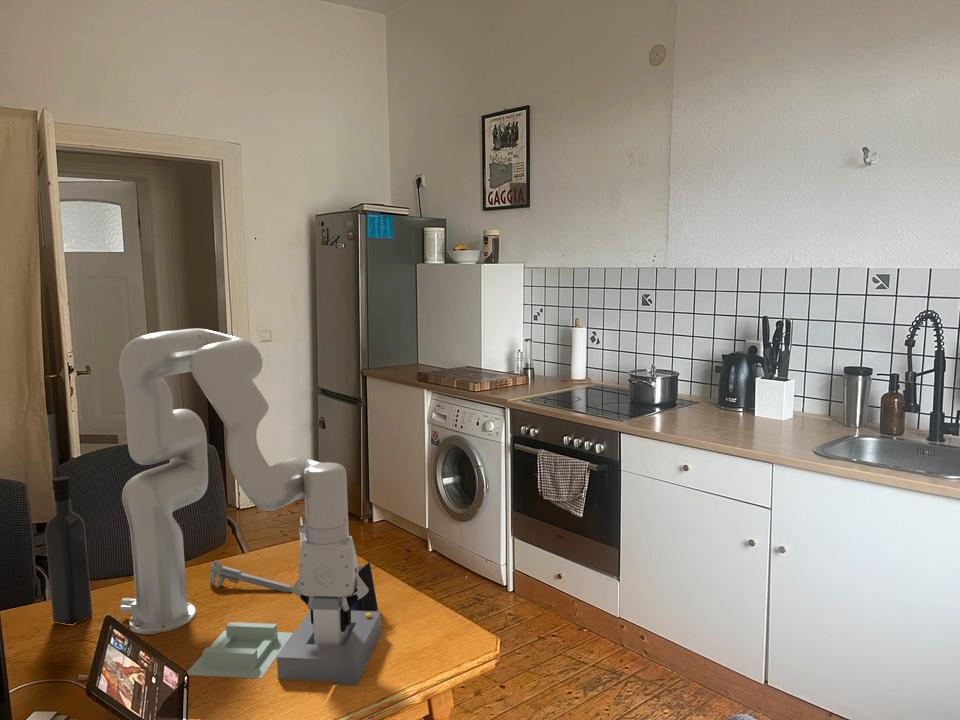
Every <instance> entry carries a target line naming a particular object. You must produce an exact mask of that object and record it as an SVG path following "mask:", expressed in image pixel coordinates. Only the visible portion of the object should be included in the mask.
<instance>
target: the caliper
mask: <svg viewBox="0 0 960 720" xmlns="http://www.w3.org/2000/svg"><path fill="white" fill-rule="evenodd" d="M222 564H223V560H221V561H218V559H215V560H214V561H213V563H212V564H211V565H210V570H209V585H210V586H211V587H213V586H215V583H216V578H217V575H218V580H217V588H220V587H221V586H222V585H223V583H224V581H225V580H226V579H227V580H228V581H229V582H232V583H233V582H234V584H237V583H239V582H244V583H249V584H252V585H256V586H260V587H264V588H267V589H271V590H275V591H277V592H283V593H289V592H290V593H293V592H292V591H291V589H292V585H290V584H286V583H283V582H280V581H275V580H271V579H267V578H264V577H261V576H256V575H253V574H250V573H249V574H248V573H245V572H242V570H239V569H236V568H233V567H229V566H225V565H222Z"/></svg>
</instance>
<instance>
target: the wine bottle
mask: <svg viewBox="0 0 960 720" xmlns="http://www.w3.org/2000/svg"><path fill="white" fill-rule="evenodd" d="M51 481H52V490H53V494H54V507H55V514H54V515H53V516H51V518H50V519H49V520H48V522H47V524H46V526H45V532H44V536H45V545H46V546H45V547H46V555H47V556H46V559H47V565H48V566H47V567H48V578H49V589H50V600H51V601H50V602H51V610H52V611H51V612H52V620H53V621H54V622H59V623H65V624H74V623H77V622H79V621H81V620H83V619H84V618H86V617H88V616H90V615H92V616H93V606H92V596H91V585H90V584H91V581H90V571H89V559H88V547H87V537H86V535H87V534H86V526H85V523H84V520H83V519H82V517H81V516H80V515H79V514H77V513H76V512H74V511H72V504H71V503H72V502H71V492H70V491H71V490H70V488H71V484H70V477H69V476H64V475H63V476H58V477H54V478H52V480H51ZM90 617H91V616H90ZM83 621H84V620H83ZM54 622H53V623H54Z"/></svg>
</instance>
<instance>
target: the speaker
mask: <svg viewBox="0 0 960 720" xmlns="http://www.w3.org/2000/svg"><path fill="white" fill-rule="evenodd" d="M358 575H359V577H360V578H361V579H362V581H363V582H364V583H365V585H366V586H367V587H368V589H369V591H368V593H367V594H366V595H365V596H363V597H362V598H360V599H359V600H357V601H356V602H355V603H354V604H353V605H352V606H351V611H378V610H379V608H378V602H377V601H378V600H377V595H376V590H375V589H376V588H375V585H374V583H375V582H374V579H373V573H372V567H371V562H370V561H368V562H366V563H365V564H364V565H363V566H362V565H359V566H358ZM357 591H358V590H357V588H356V587H355V590H354V592H353V593H355V592H357ZM353 593H352V594H353Z"/></svg>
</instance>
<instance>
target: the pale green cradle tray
mask: <svg viewBox="0 0 960 720" xmlns="http://www.w3.org/2000/svg"><path fill="white" fill-rule="evenodd" d="M293 634H294V632H288V631H287V632H283V631H278V624H277V623H258V622H239V621H238V622H235V621H233V622H231V621H229V622H228V623H227V624H226V625H225V630H223V632H222V633H221V634H220V635H219V636H218V637H217V638H216V639H215V640H214V641H213V642H212V644H211V645H210V646H209V647H205V648H204V650H202V655H201V656H200V657H199V658H198V659H197V660H196V662H194V663H193V665H191V666H190V668H189V669H188V670H187V673H188V675H187V676H200V677H207V676H208V677H224V678H244V679H245V678H246V679H247V678H249V679H262V678H263V677H264V676H265V674H266V672H267V671H268V669H269V668H270V667H271V666H272V664H273V662H274V661H275V659H277V656H278V655H279V653H280V652H281V651H282V649H283V648H284V646H285V645H286V644H287V642H288V641H289V639H290V638H291V637H292V635H293Z"/></svg>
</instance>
